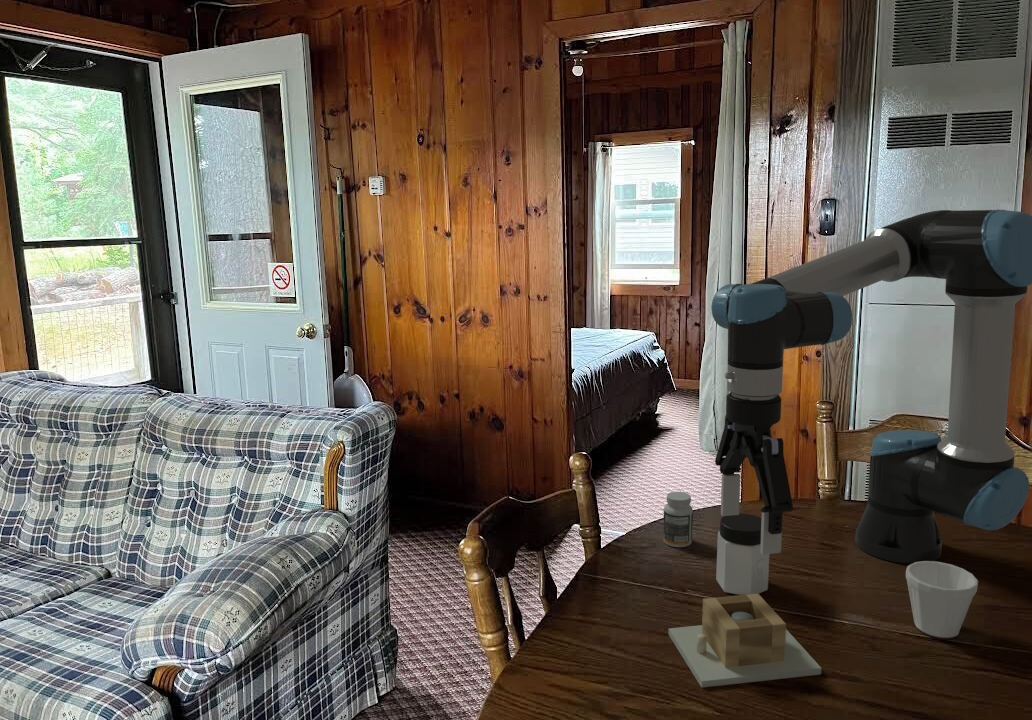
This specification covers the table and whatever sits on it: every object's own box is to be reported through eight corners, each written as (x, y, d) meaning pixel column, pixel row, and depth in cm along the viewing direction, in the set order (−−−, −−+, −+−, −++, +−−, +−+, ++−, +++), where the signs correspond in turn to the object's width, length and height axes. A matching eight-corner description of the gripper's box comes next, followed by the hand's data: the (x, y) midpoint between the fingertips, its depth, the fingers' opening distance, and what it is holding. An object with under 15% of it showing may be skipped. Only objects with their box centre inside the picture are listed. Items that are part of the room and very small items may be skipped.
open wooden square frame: (701, 634, 122) (702, 598, 120) (756, 628, 123) (758, 593, 122) (725, 667, 113) (726, 629, 112) (783, 661, 114) (785, 623, 113)
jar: (742, 602, 133) (745, 536, 130) (706, 583, 140) (708, 520, 137) (777, 587, 138) (780, 523, 135) (740, 569, 144) (743, 508, 142)
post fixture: (775, 623, 126) (777, 589, 125) (821, 674, 112) (823, 636, 111) (668, 634, 124) (669, 599, 122) (701, 687, 110) (702, 649, 109)
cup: (887, 621, 126) (891, 568, 124) (931, 607, 130) (936, 555, 128) (942, 653, 117) (947, 596, 115) (987, 637, 121) (993, 582, 119)
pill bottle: (670, 534, 160) (671, 488, 158) (696, 540, 157) (698, 494, 155) (658, 544, 156) (659, 497, 154) (685, 551, 153) (686, 503, 151)
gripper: (695, 376, 123) (693, 503, 127) (769, 419, 99) (763, 574, 103) (741, 373, 124) (737, 499, 128) (825, 415, 100) (817, 568, 104)
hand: (749, 532), depth 116 cm, fingers open, 13 cm apart
